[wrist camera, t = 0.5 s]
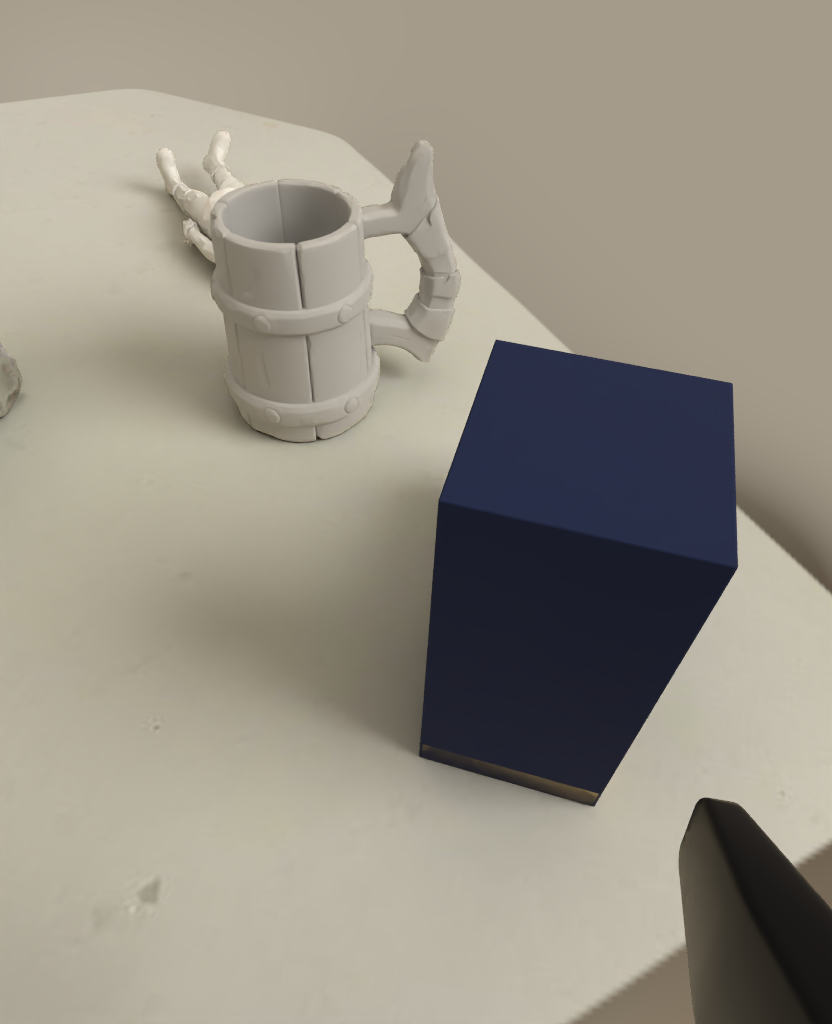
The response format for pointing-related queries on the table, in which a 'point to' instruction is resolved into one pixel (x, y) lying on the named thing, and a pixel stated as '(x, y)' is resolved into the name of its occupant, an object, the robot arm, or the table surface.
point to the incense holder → (8, 381)
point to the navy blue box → (573, 563)
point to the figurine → (197, 200)
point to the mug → (322, 296)
